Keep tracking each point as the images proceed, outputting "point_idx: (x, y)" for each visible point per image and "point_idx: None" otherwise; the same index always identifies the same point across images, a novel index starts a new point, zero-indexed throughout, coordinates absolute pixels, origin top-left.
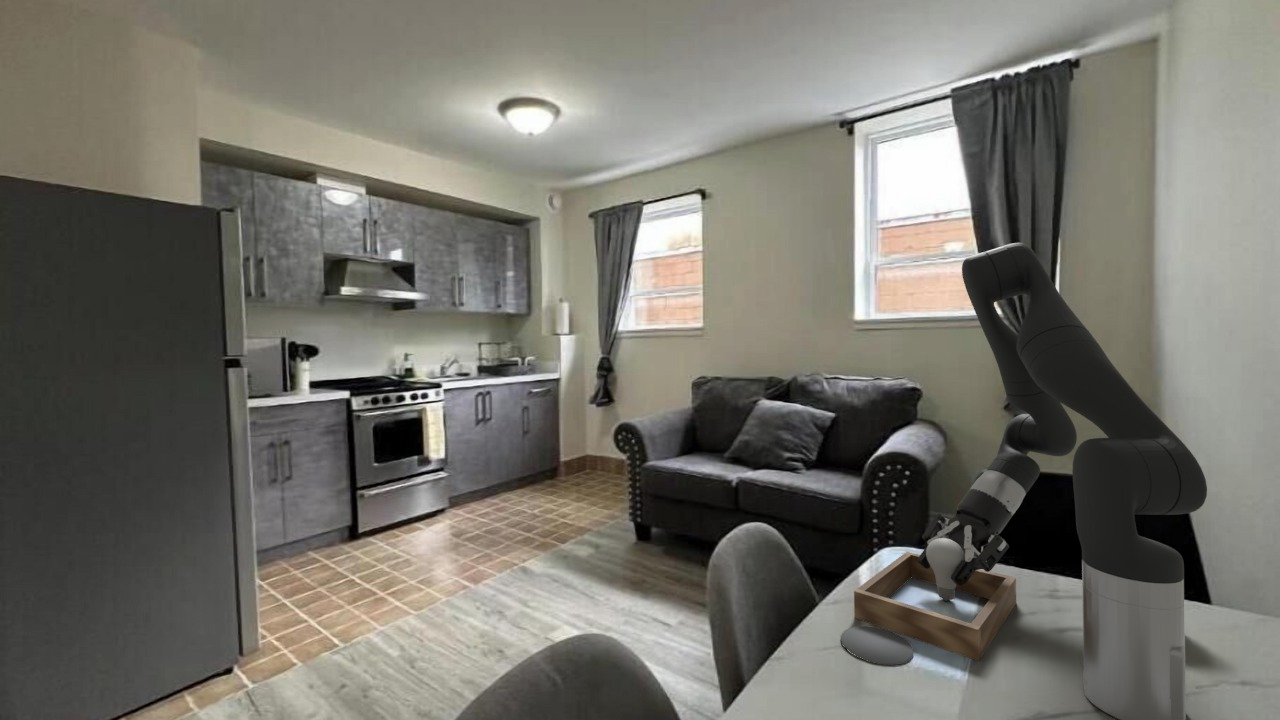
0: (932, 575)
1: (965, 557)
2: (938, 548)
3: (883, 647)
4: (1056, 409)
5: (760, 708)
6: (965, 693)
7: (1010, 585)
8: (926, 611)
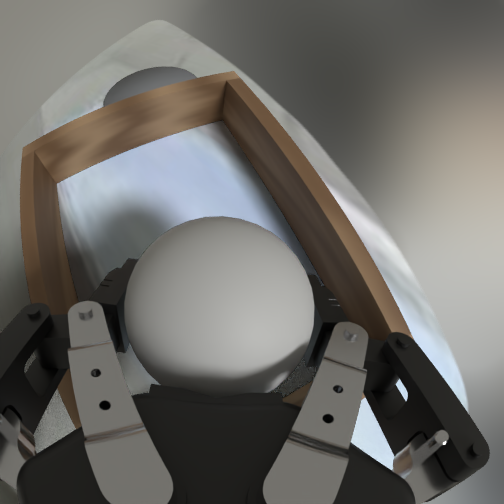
0: None
1: (100, 312)
2: (200, 222)
3: (138, 91)
4: None
5: (149, 22)
6: (40, 123)
7: None
8: (101, 113)
